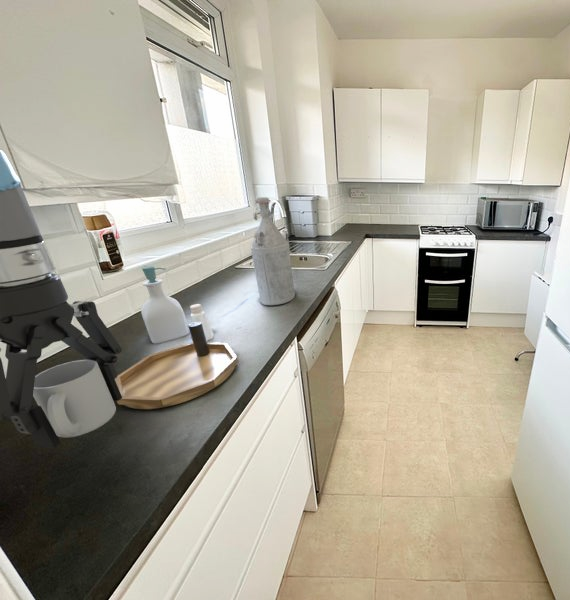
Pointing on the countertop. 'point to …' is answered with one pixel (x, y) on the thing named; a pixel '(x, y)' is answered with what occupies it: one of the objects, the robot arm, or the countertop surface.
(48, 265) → the robot arm
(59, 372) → the cup
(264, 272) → the grey jug bottle
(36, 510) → the countertop surface
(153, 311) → the soap bottle
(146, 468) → the countertop surface
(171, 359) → the tray
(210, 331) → the salt shaker
